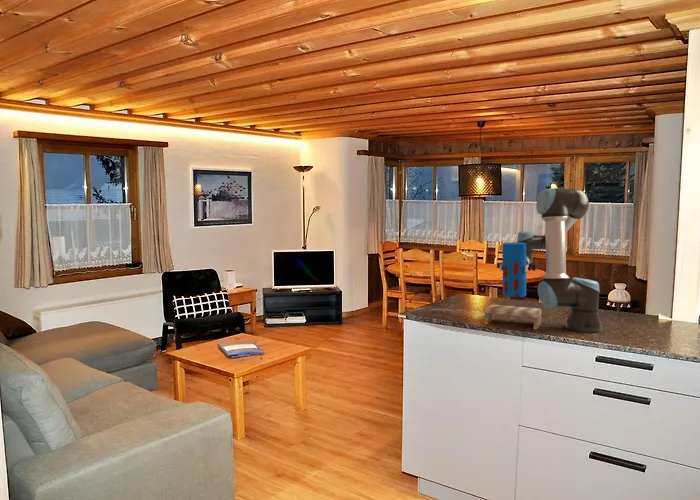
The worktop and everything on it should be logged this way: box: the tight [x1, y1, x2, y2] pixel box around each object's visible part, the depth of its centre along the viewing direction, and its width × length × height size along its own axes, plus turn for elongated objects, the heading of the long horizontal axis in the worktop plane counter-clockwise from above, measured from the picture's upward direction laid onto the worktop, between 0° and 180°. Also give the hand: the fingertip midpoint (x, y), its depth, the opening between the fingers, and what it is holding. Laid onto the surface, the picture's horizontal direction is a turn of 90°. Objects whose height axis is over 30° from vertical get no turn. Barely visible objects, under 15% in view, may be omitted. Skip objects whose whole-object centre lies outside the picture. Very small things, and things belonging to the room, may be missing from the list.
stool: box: [484, 303, 542, 330], centre depth 266 cm, size 24×14×7 cm, turn 64°
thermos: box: [501, 241, 527, 298], centre depth 265 cm, size 11×11×25 cm
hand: (513, 268), depth 261 cm, fingers closed on thermos, 11 cm apart
